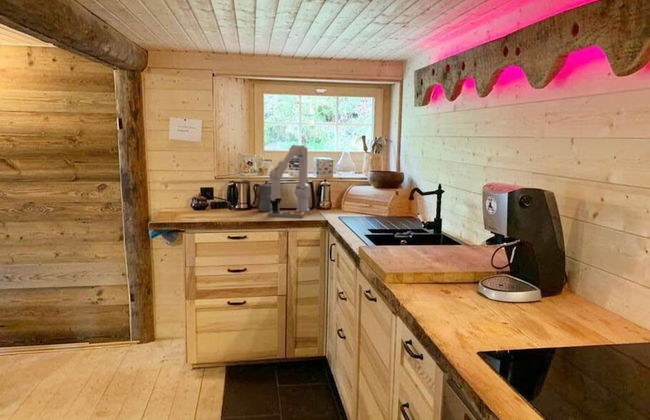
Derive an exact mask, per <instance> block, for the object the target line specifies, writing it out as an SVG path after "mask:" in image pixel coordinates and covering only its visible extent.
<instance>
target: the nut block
mask: <svg viewBox="0 0 650 420" xmlns="http://www.w3.org/2000/svg"><path fill="white" fill-rule="evenodd" d="M271 207H272V206H271ZM279 211H280V205H279V203H278V207H277V211H273V207H272V213H279Z"/></svg>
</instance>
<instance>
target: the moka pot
mask: <svg viewBox="0 0 650 420" xmlns="http://www.w3.org/2000/svg"><path fill="white" fill-rule="evenodd" d="M257 187H258V188H259V189H258V190H259V196H258V195H257V191H256V188H257ZM252 189H253V192H254V196H255V198H257V199H259V205H258V208H257V209H258V211H259V212H263V213H269V212H271V211H272V204H271V202H270V200H271V197H269V196H271V183H268V181H267V180H266V181H265V183H263V184H262V183H261V184H260V183H255V184H253V187H252Z"/></svg>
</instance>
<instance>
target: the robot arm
mask: <svg viewBox="0 0 650 420" xmlns="http://www.w3.org/2000/svg"><path fill="white" fill-rule="evenodd" d="M288 149H289V151H288V152H287V154H286V156H285V157H284V159H283V160H280V161H279V162H278V163H277V165H276V166H275V167H274V168H273V169H272V170H271V171H269V174H268V176H269V177H268V178H270V184H271V196H269V197H271V200H270V202H271V207H273V211H277V207H278V203H279V206H281V205H280V204H281V201H282V196H281V179H282V178H283V175H284V172H285V171H286V170H287V168H288V167H289V166H288V164H289V163H290V162H291V161H292V160H293V159H294V158H295V157H297V159H298V160H299V162H298V183H297V184H296V185H295V189H294V195H295V196H296V202H297V203H296V209H295V212H305V213H306V212H307V213H308V212H309V211H310V208H309V198H310V196H311V186H310V185H309V183H308V160H309V159H308V148H307V146H306V145H305V144H301V145H299V144H297V145H296V144H292V145H291V146H290V147H289V148H288Z"/></svg>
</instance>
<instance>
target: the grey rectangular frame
mask: <svg viewBox="0 0 650 420" xmlns="http://www.w3.org/2000/svg"><path fill="white" fill-rule="evenodd" d="M267 217H274V218H275V217H277V218H295V217H303V218H304V217H306V212H301V211H280V210H279V213H272V211H271V212H267Z"/></svg>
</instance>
